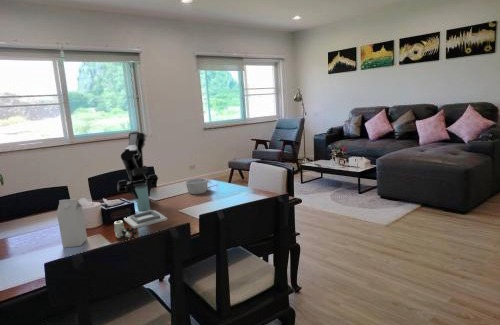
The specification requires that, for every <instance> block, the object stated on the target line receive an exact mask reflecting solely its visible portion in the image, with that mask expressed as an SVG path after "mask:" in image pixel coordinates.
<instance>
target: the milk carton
mask: <svg viewBox="0 0 500 325" xmlns="http://www.w3.org/2000/svg"><path fill="white" fill-rule="evenodd" d="M58 202H59V203H58V206H57V210H56V215H57V221H58V227H59V232H60V239H61V245H62V248H63V249H64V248H73V247H74V248H75V247H81V246H82V245H83V244H84V243H85V242H86V241H87V240H88V235H87V229H86V223H85V217H84V216H85V215H84V210H83V205H82V204H81V203H80V202H79V201H78V198H71V199H60V200H58Z"/></svg>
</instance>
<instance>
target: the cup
mask: <svg viewBox="0 0 500 325" xmlns="http://www.w3.org/2000/svg"><path fill="white" fill-rule="evenodd" d="M135 190H136V194H137V197H138V199H136V201H137V202H136V204H137V211H138V212H139V213H143V212H147V211H151V207H150V206H151V205H150V204H151V203H150V202H149V200H150V198H149V197H150V196H148V188H147V184H140V185H136V186H135Z"/></svg>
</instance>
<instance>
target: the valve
mask: <svg viewBox="0 0 500 325" xmlns="http://www.w3.org/2000/svg"><path fill="white" fill-rule="evenodd" d="M113 226H114V230H113V231H114V234H115V238H116V237H117V239H123V240H122V242H123V241H125V240H128V239H131V240H133V239H132V238H135V239H136V237H135V235H137V234H138V233H137V231H136V230H135V229H134V228H132V227H130V228H129V226H127V227H125V226H124V220H118V221H117V220H116V221H114V223H113Z"/></svg>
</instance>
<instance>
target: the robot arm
mask: <svg viewBox="0 0 500 325" xmlns="http://www.w3.org/2000/svg"><path fill="white" fill-rule="evenodd" d="M145 142H146V135H145V133H142V132H140V131H130V132H129V134H128V146H126V147H125V148H124V151H123V152H122V153H121V154H120V159H121V161H122V164H123V165H124V167H125V168H124V169H125V170H126V173H127V175H128V179H129V180H130V181H128V180H127V179H122V180H118V182H117V184H116V189H117V192H118V193H121V192H125V193H128V194H129V195H131V196H132V197H133V198H135V199H136V200H135V201H136V203H137V199H138V197H137V194H136V190H135V186H136V185H140V184H147V188H148V196H149V197H150V196H151V191H152V189H151V187H152V186H155V185H157V183H158V179H159V177H158V174H149V175H148V176H146V175H145V174H147V172H148V171H149V170H148V167H147V165H144V156H143V155H144V154H143V149H144V147H145V146H146V144H145ZM151 201H152V200H150V199H149V203H150V202H151Z"/></svg>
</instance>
